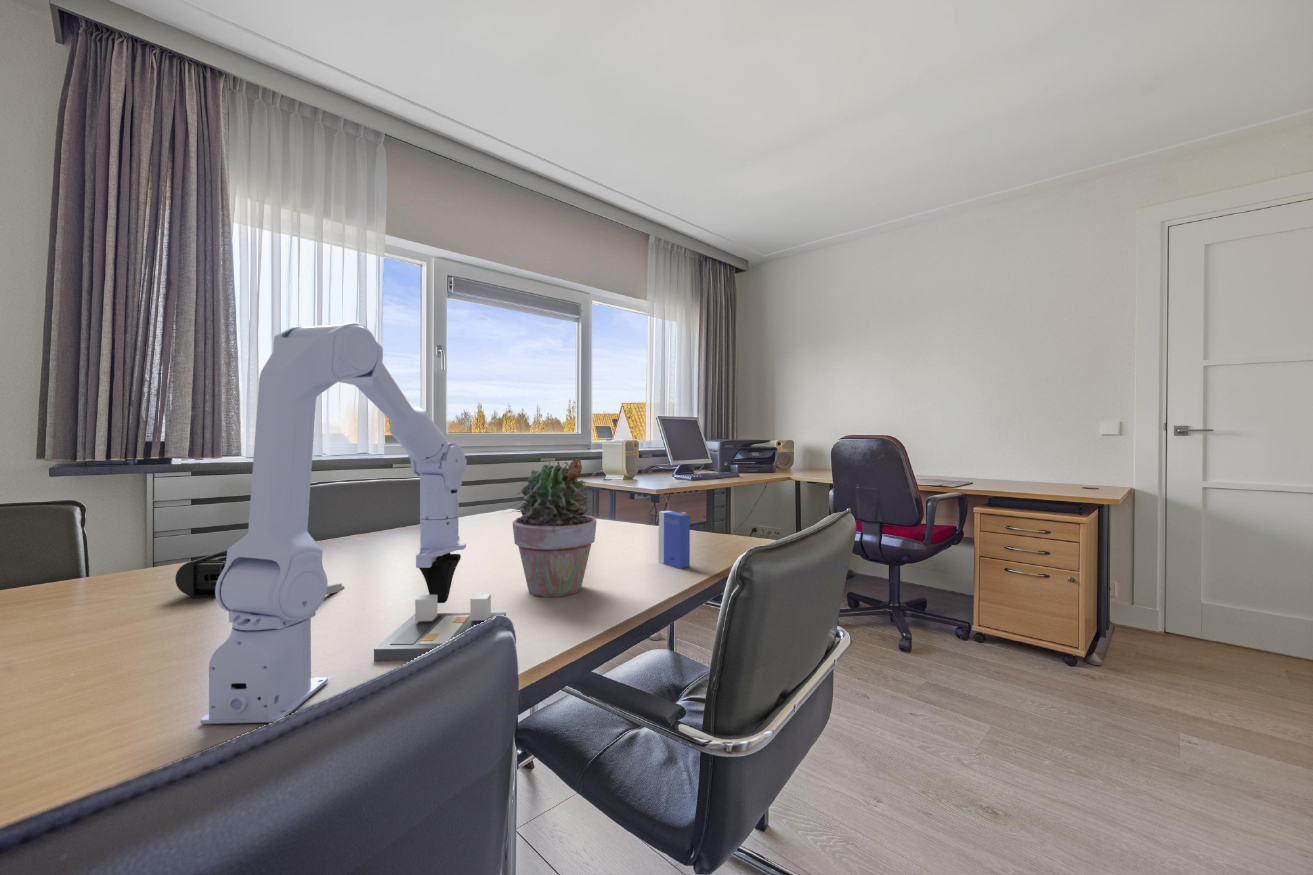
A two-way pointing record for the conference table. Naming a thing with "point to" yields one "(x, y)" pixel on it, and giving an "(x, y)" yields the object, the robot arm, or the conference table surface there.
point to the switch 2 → (480, 607)
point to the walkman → (674, 539)
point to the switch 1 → (426, 608)
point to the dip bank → (423, 635)
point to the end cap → (201, 575)
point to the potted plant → (554, 530)
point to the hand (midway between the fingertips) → (439, 601)
